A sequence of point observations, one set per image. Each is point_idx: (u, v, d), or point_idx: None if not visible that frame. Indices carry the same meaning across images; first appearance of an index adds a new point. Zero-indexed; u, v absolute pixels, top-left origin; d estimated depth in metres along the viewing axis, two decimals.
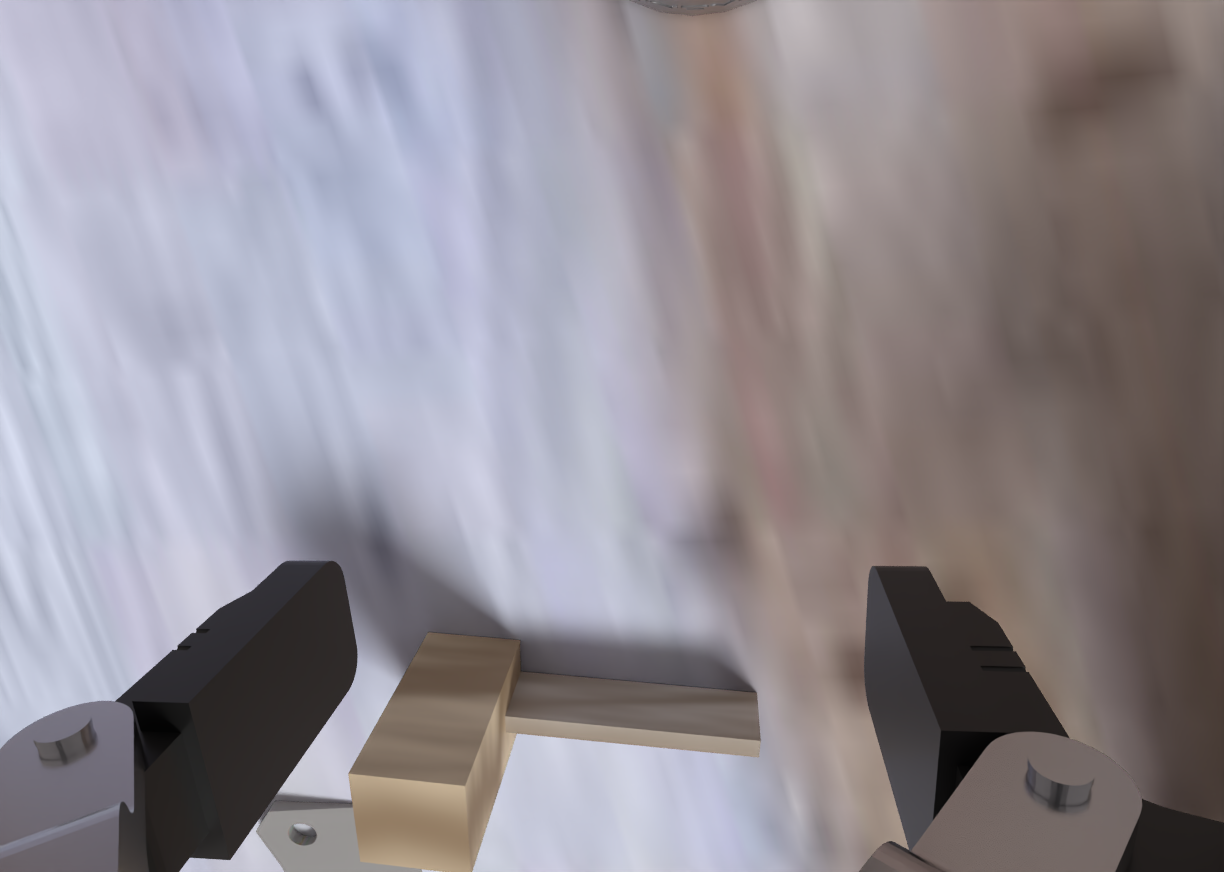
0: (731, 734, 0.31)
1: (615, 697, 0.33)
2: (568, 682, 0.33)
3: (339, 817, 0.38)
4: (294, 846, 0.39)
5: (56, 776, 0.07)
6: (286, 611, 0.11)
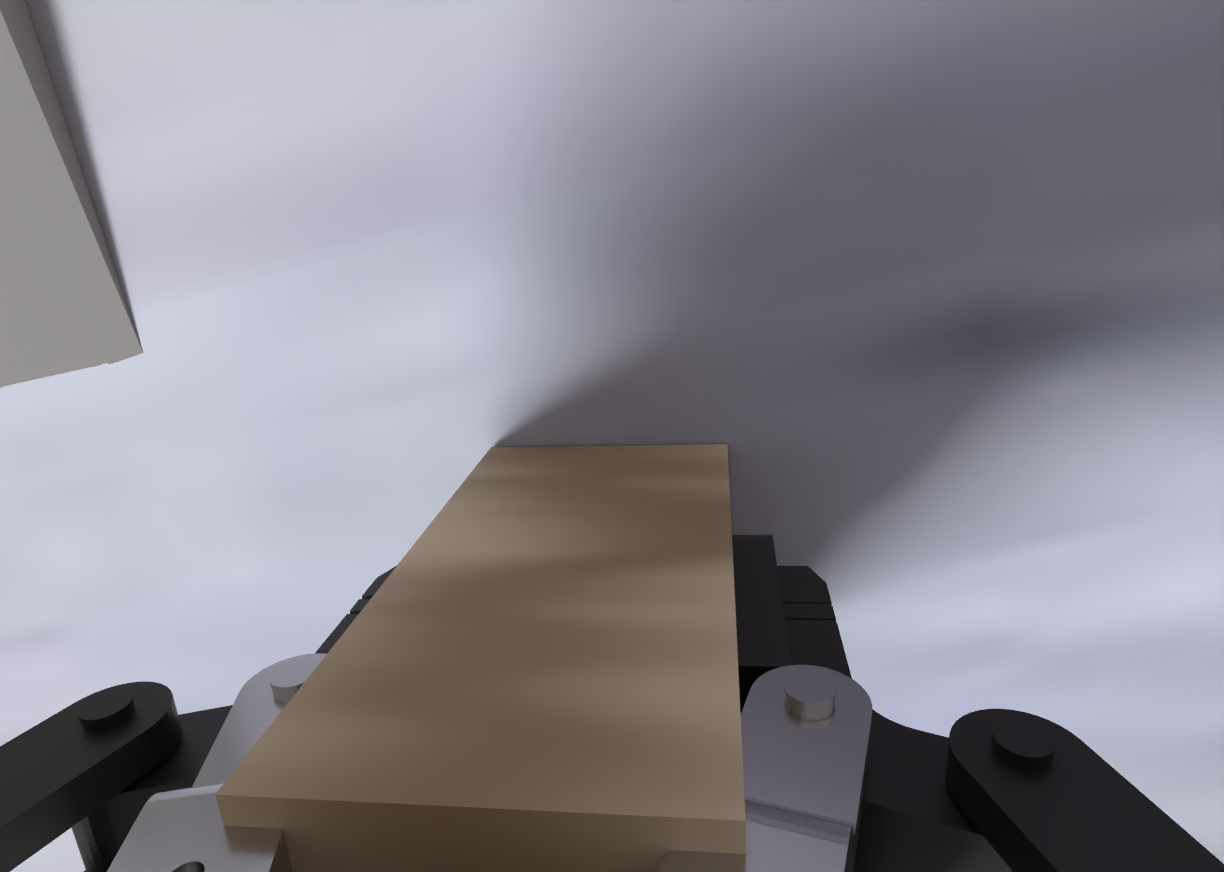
0: None
1: None
2: None
3: (29, 160, 0.13)
4: None
5: None
6: None
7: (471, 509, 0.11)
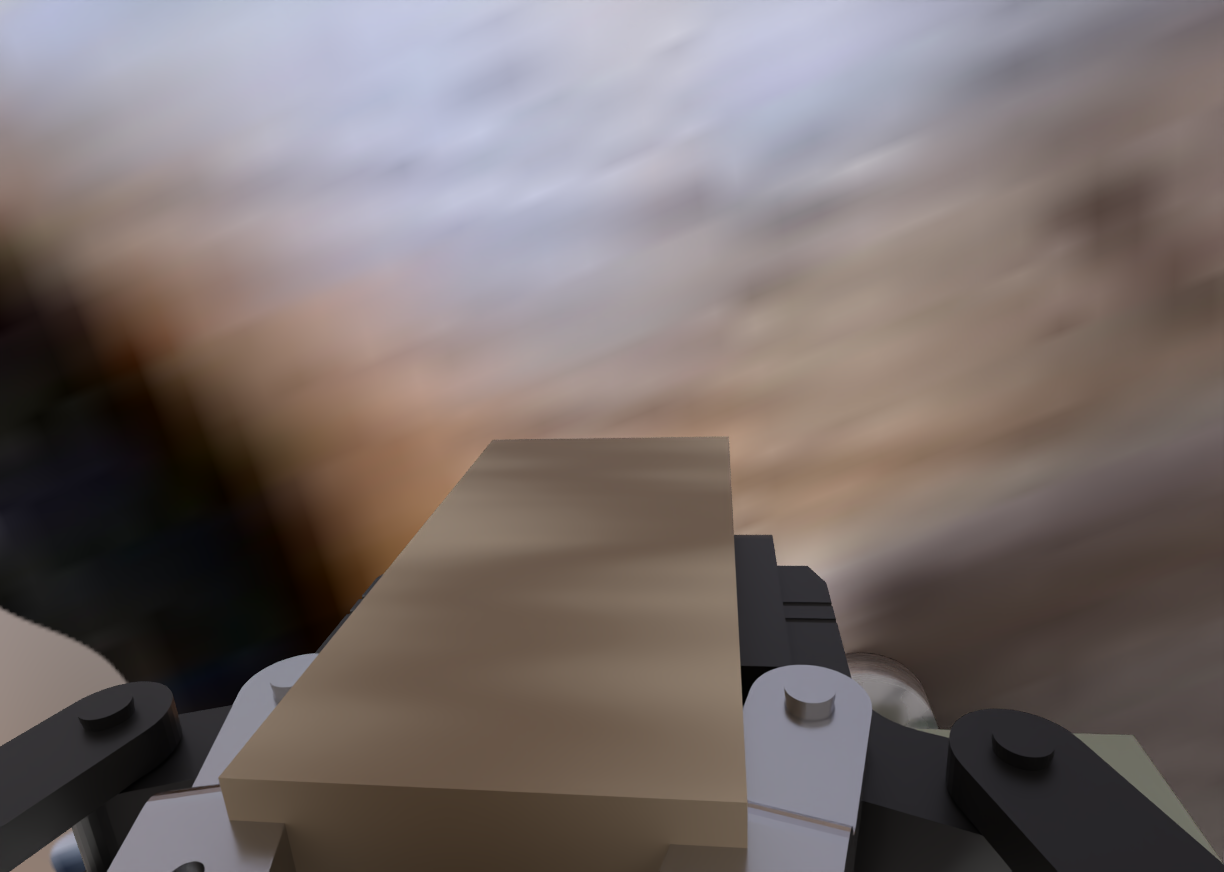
0: None
1: None
2: None
3: None
4: None
5: None
6: None
7: (473, 499, 0.11)
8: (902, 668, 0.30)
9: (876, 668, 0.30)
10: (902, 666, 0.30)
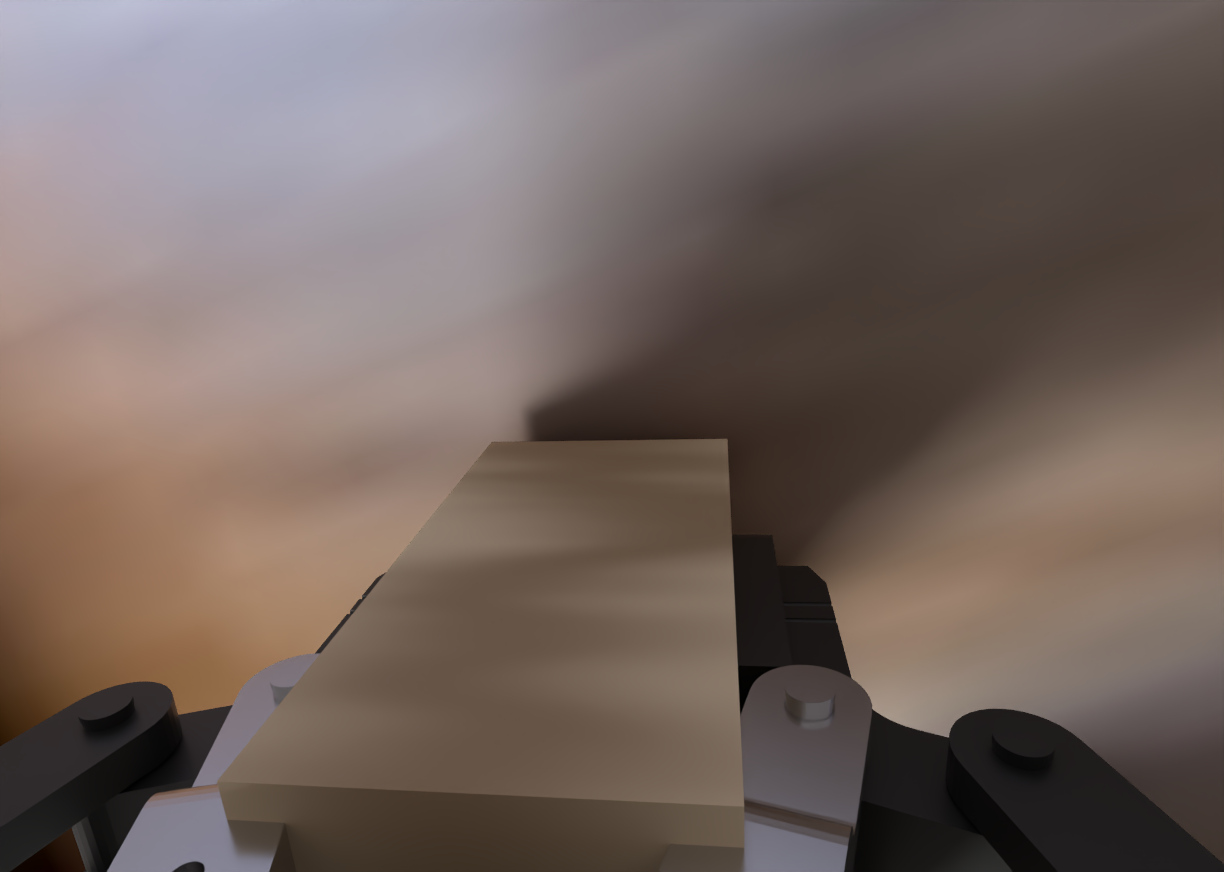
0: None
1: None
2: None
3: None
4: None
5: None
6: None
7: (471, 502, 0.11)
8: None
9: None
10: None
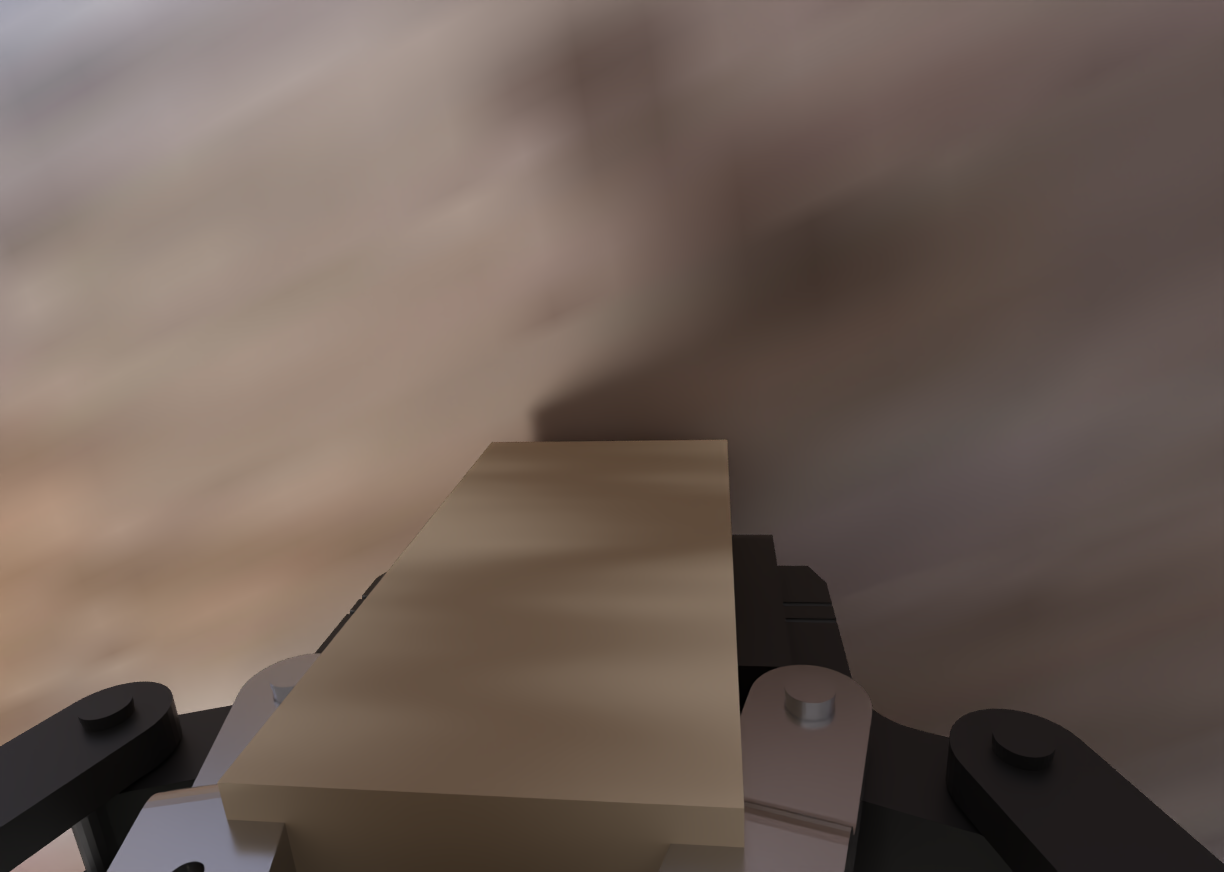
0: None
1: None
2: None
3: None
4: None
5: None
6: None
7: (471, 503, 0.11)
8: None
9: None
10: None
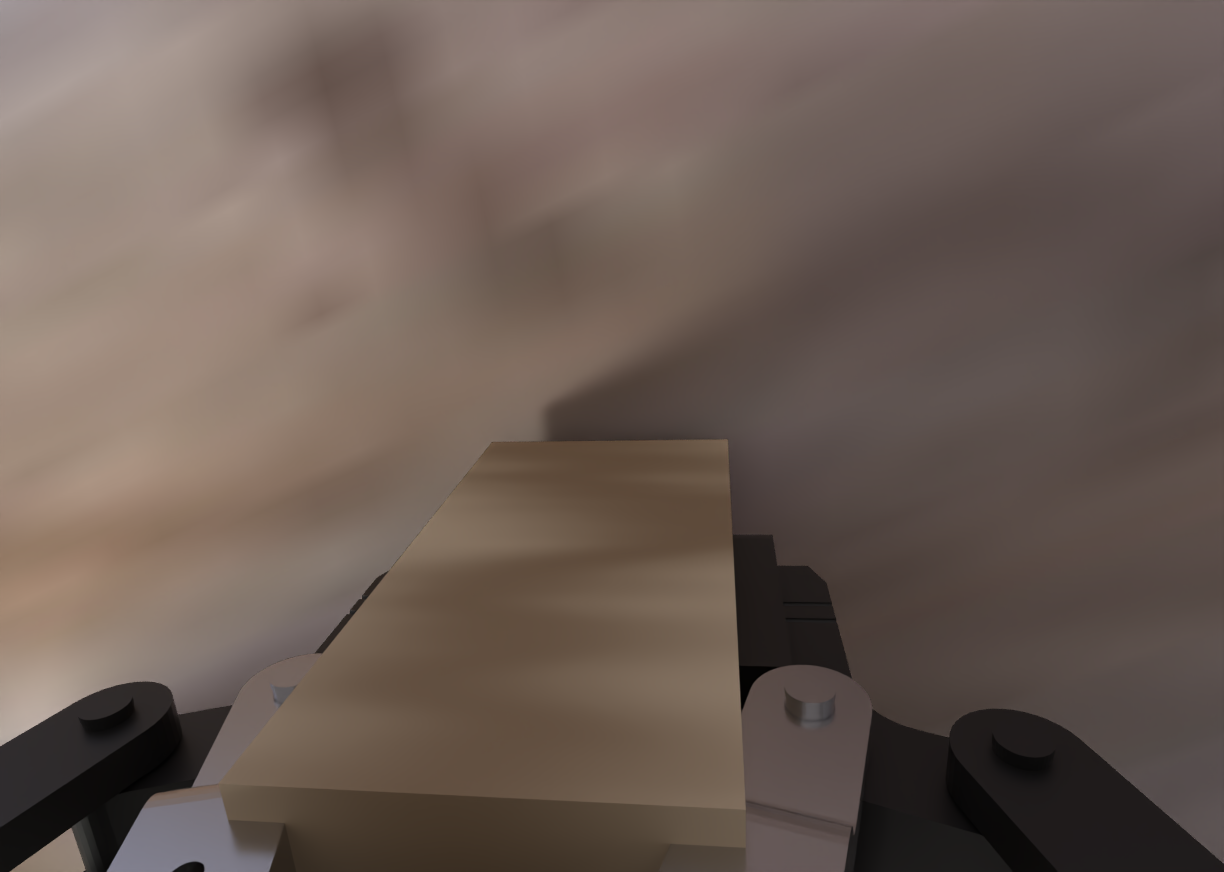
0: None
1: None
2: None
3: None
4: None
5: None
6: None
7: (472, 503, 0.11)
8: None
9: None
10: None
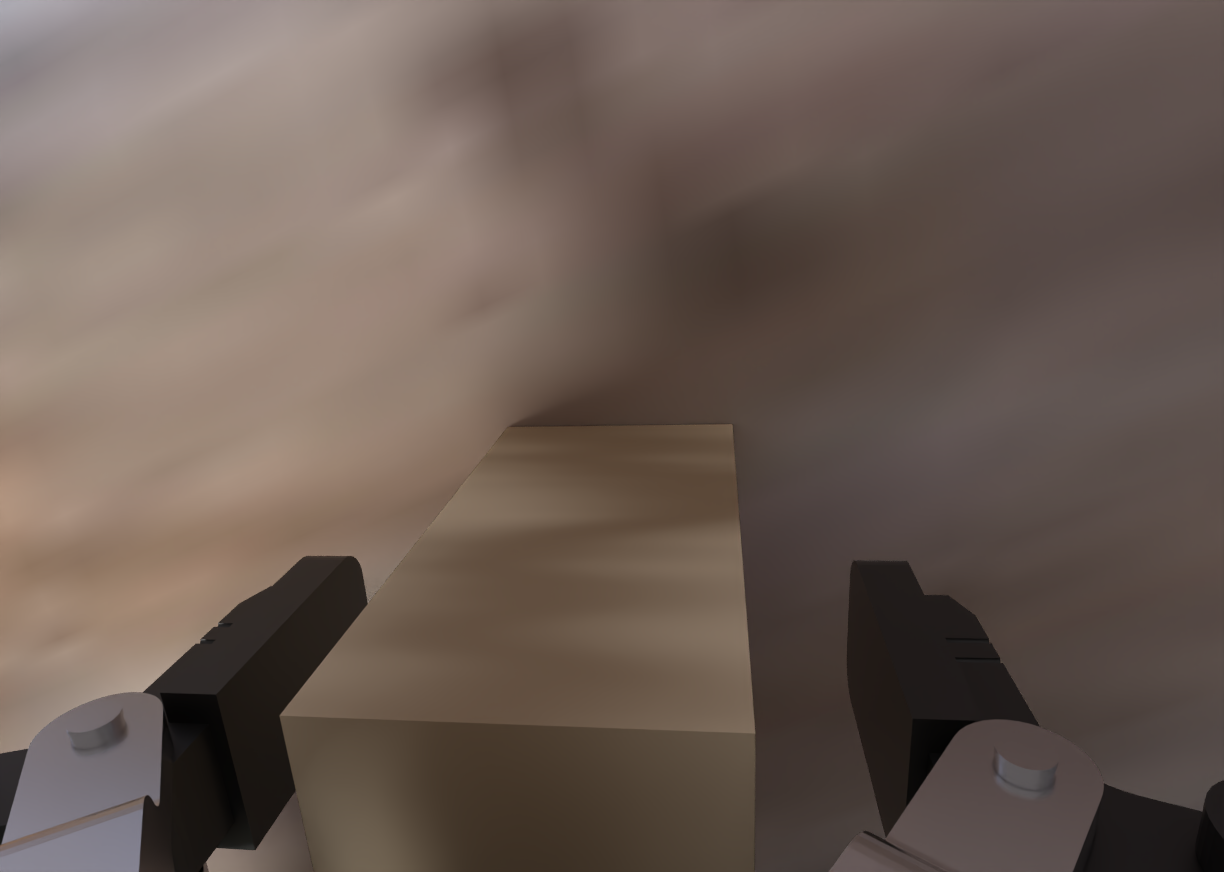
0: None
1: None
2: None
3: None
4: None
5: (90, 765, 0.08)
6: (308, 605, 0.11)
7: (492, 480, 0.12)
8: None
9: None
10: None
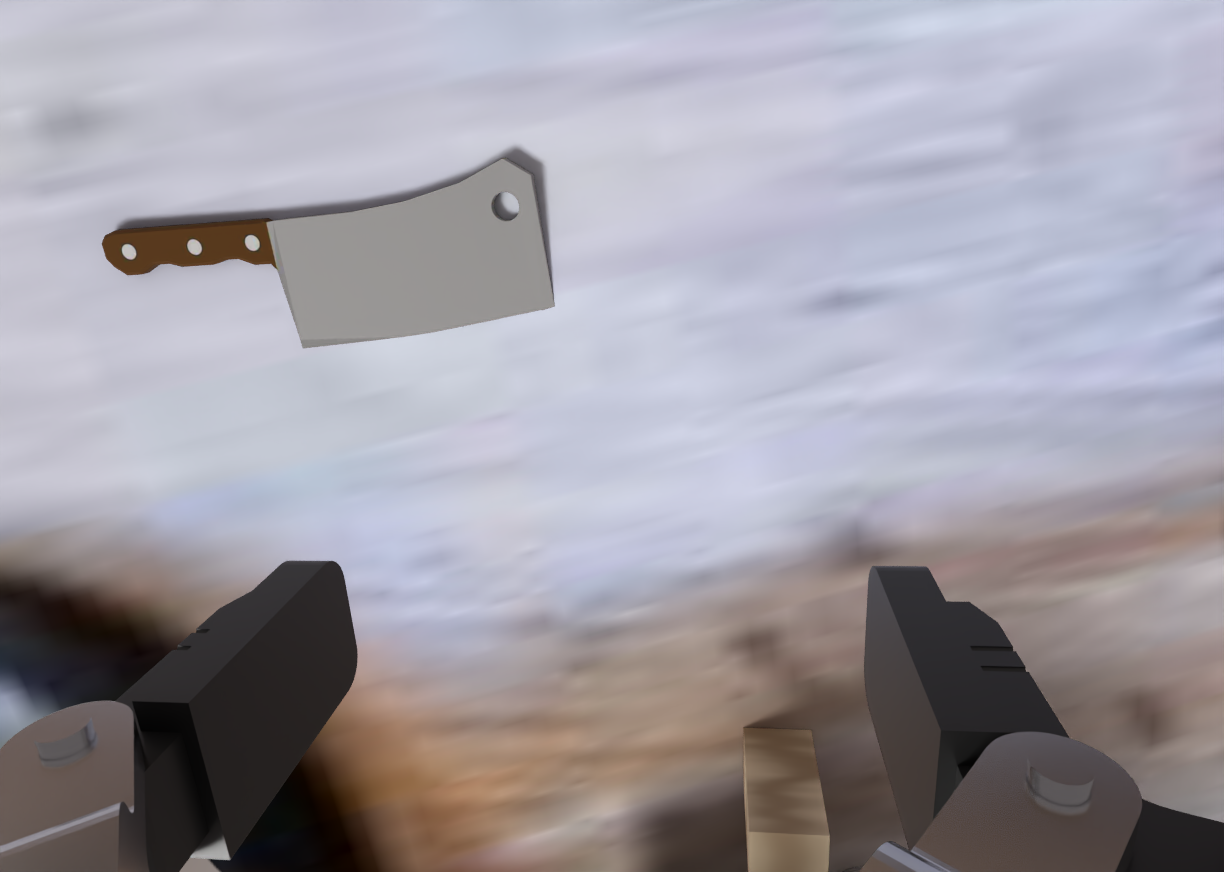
0: None
1: None
2: None
3: (532, 245, 0.40)
4: (489, 197, 0.39)
5: (56, 776, 0.07)
6: (286, 611, 0.11)
7: (752, 757, 0.45)
8: None
9: None
10: None
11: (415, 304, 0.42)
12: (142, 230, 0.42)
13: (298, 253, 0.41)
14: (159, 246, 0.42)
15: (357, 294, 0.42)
